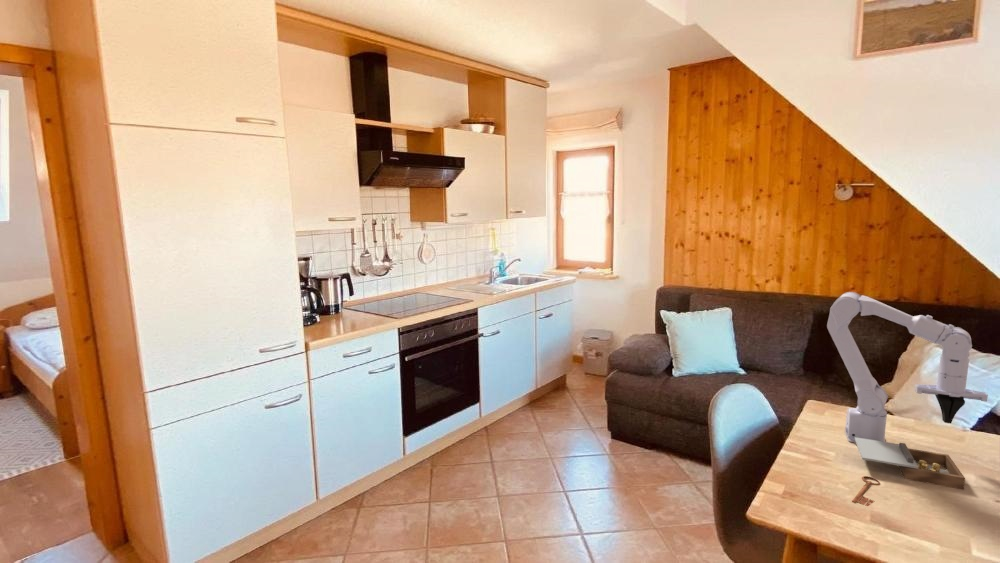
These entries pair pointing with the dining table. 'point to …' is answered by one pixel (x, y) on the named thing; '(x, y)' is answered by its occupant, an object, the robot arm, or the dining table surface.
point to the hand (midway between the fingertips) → (946, 421)
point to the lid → (885, 452)
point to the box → (938, 478)
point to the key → (866, 486)
